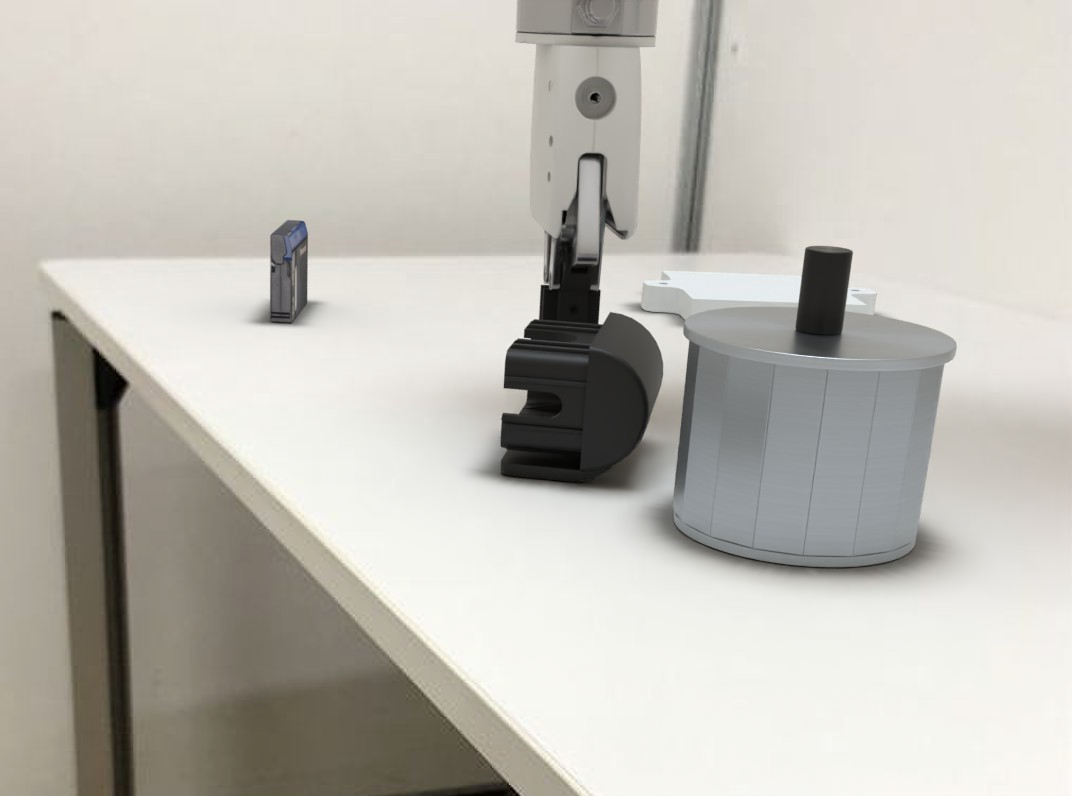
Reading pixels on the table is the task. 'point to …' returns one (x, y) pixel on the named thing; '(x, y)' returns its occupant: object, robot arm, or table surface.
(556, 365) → the end cap
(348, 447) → the table surface
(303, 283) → the mini dv tape
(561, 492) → the table surface
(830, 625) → the table surface
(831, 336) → the pot lid
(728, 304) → the mounting plate
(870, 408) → the pot
